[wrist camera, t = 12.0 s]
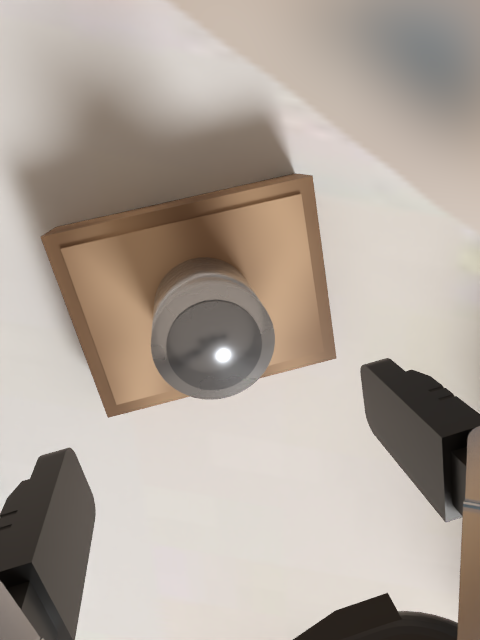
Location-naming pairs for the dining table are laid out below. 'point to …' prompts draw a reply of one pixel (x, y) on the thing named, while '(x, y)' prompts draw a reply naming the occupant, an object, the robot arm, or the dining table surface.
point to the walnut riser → (181, 245)
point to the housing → (209, 330)
